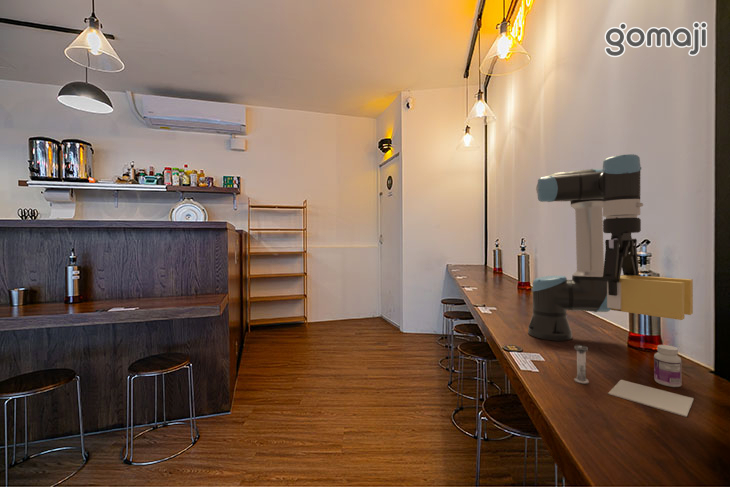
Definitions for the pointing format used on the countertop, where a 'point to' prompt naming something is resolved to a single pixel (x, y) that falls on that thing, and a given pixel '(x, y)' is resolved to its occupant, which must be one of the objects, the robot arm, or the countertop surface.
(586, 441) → the countertop surface
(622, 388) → the felt mat
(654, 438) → the countertop surface
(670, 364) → the pill bottle
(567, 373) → the countertop surface
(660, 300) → the c link
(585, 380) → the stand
